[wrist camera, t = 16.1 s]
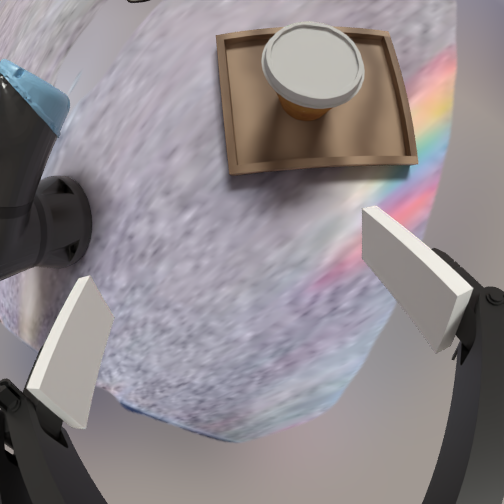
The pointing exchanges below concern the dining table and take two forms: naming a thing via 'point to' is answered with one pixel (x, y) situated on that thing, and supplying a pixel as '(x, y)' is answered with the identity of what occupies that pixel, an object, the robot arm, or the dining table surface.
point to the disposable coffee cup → (312, 68)
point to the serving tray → (322, 129)
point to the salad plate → (136, 1)
